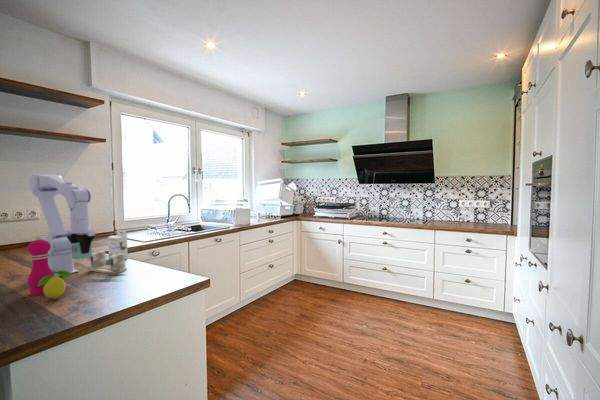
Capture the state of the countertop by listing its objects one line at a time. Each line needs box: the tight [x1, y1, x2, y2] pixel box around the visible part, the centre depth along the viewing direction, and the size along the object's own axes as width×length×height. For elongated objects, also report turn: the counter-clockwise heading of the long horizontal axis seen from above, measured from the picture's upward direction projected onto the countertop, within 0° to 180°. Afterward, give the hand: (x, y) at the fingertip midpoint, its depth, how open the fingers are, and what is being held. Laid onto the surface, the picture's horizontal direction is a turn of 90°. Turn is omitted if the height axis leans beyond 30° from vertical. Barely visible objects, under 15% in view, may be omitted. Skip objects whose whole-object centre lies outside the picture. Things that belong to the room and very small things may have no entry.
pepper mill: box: [26, 235, 55, 296], centre depth 100 cm, size 7×7×20 cm
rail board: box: [89, 250, 128, 275], centre depth 125 cm, size 6×15×7 cm, turn 68°
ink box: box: [107, 229, 129, 260], centre depth 144 cm, size 9×5×15 cm, turn 62°
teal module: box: [71, 242, 92, 260], centre depth 114 cm, size 5×4×6 cm
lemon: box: [38, 269, 73, 300], centre depth 93 cm, size 7×6×10 cm
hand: (81, 252), depth 114 cm, fingers closed on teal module, 4 cm apart
